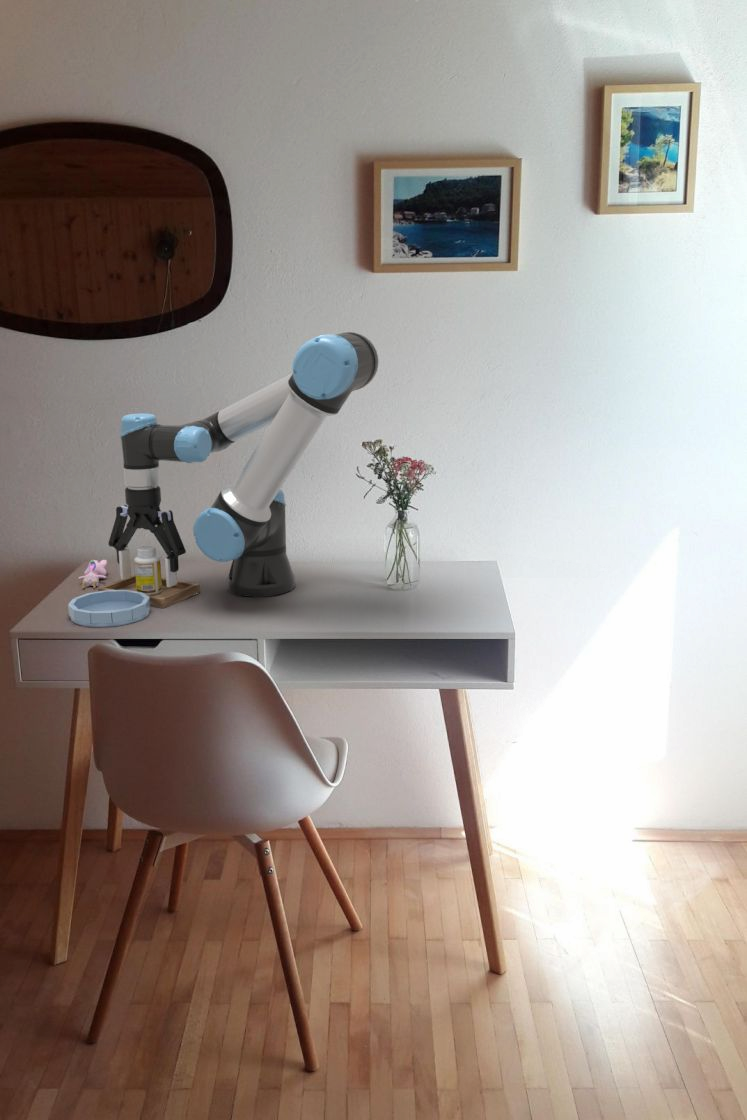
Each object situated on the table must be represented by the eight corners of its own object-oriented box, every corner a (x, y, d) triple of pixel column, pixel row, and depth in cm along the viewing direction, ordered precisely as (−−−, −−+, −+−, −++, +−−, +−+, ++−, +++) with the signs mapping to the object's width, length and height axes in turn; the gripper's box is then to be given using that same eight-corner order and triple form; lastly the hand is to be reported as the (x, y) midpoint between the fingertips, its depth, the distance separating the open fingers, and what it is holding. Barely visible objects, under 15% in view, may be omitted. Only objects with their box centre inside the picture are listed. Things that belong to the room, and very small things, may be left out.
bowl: (165, 609, 226) (164, 596, 225) (113, 631, 212) (112, 617, 211) (107, 599, 233) (106, 586, 232) (53, 620, 220) (52, 606, 219)
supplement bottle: (153, 587, 240) (150, 543, 237) (167, 592, 236) (164, 548, 233) (131, 592, 236) (128, 548, 234) (145, 597, 232) (142, 552, 230)
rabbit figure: (103, 595, 242) (114, 567, 255) (100, 571, 239) (112, 544, 253) (75, 595, 241) (88, 567, 255) (72, 571, 239) (85, 545, 252)
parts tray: (200, 592, 238) (199, 583, 237) (162, 608, 227) (162, 599, 226) (137, 582, 246) (136, 573, 245) (98, 597, 235) (97, 588, 234)
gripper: (198, 488, 228) (203, 584, 233) (110, 478, 239) (117, 570, 244) (176, 494, 221) (182, 593, 227) (87, 484, 232) (94, 579, 238)
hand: (148, 581), depth 236 cm, fingers open, 12 cm apart
